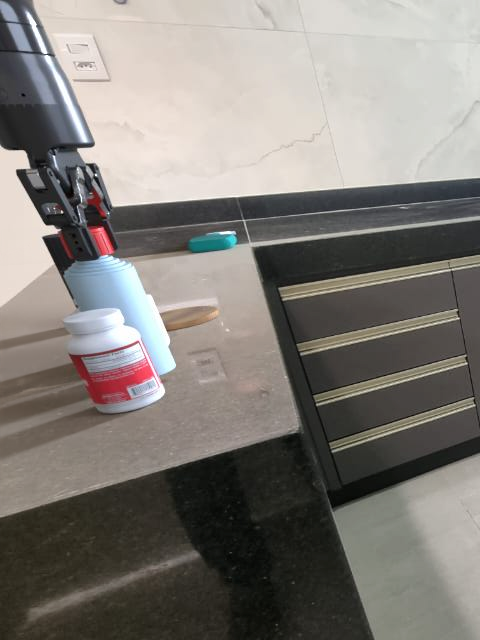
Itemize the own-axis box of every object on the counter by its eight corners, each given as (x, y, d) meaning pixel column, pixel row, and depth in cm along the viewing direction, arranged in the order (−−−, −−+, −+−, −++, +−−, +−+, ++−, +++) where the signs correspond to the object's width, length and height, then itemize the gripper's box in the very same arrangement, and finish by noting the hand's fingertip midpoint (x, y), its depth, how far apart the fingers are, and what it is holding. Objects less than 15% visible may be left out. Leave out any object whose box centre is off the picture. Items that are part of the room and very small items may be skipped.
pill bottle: (112, 396, 64) (69, 310, 60) (174, 386, 66) (137, 302, 62) (87, 420, 59) (38, 327, 55) (155, 408, 61) (114, 318, 57)
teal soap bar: (187, 253, 143) (200, 241, 163) (235, 248, 148) (242, 236, 168) (183, 242, 142) (196, 231, 162) (232, 237, 147) (239, 227, 167)
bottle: (101, 386, 67) (30, 242, 60) (132, 366, 73) (70, 232, 65) (160, 379, 69) (97, 237, 61) (185, 360, 74) (130, 228, 67)
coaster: (131, 333, 85) (129, 328, 85) (165, 314, 94) (163, 309, 94) (202, 326, 87) (200, 321, 87) (229, 308, 96) (227, 303, 96)
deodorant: (108, 316, 94) (69, 231, 88) (140, 315, 94) (102, 230, 88) (74, 327, 89) (30, 238, 83) (108, 327, 88) (66, 237, 82)
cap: (115, 250, 67) (104, 224, 66) (113, 254, 64) (102, 228, 63) (71, 255, 65) (59, 229, 63) (67, 260, 62) (54, 233, 60)
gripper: (46, 98, 53) (118, 263, 60) (101, 105, 65) (155, 242, 72) (-60, 99, 50) (28, 272, 57) (18, 106, 62) (83, 248, 69)
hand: (99, 254), depth 64 cm, fingers open, 5 cm apart
